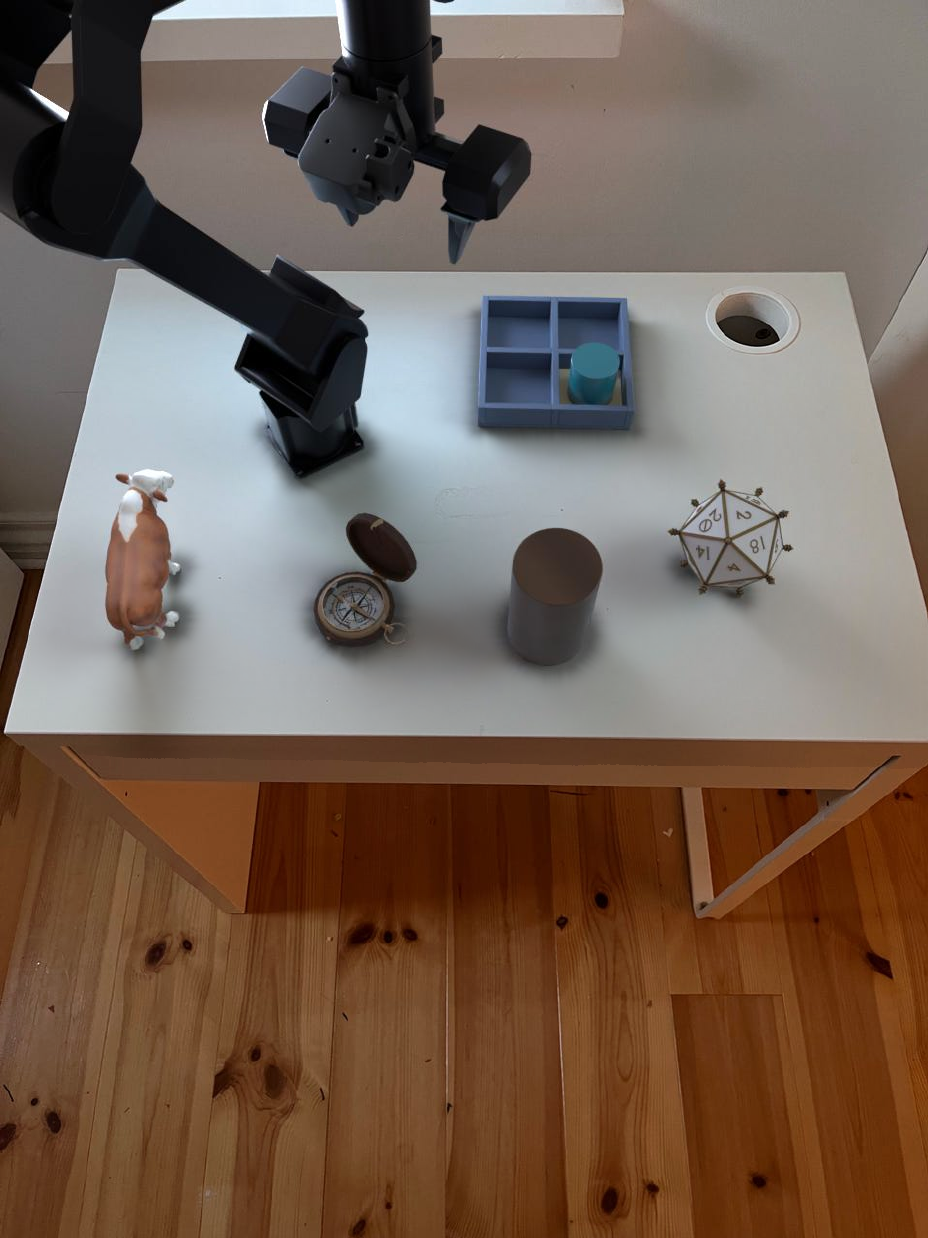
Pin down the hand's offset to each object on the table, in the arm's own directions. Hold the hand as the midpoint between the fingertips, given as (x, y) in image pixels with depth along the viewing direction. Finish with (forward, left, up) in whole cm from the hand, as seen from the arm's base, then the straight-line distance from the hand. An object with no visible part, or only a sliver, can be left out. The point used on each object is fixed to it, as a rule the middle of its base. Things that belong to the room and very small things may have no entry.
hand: (403, 241), depth 70 cm
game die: (+9, -32, -12) cm, 36 cm away
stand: (-6, -30, -12) cm, 32 cm away
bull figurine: (-29, -10, -12) cm, 33 cm away
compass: (-16, -21, -12) cm, 29 cm away
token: (+10, -13, -11) cm, 20 cm away
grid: (+9, -9, -12) cm, 17 cm away
